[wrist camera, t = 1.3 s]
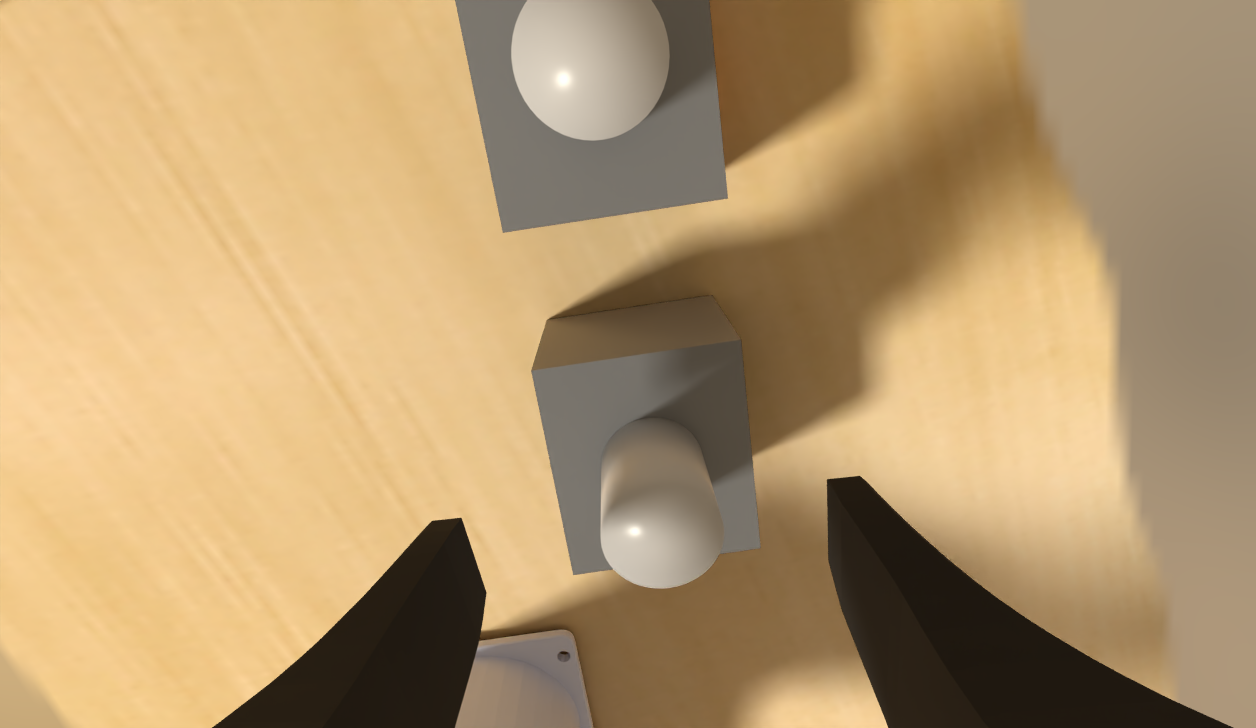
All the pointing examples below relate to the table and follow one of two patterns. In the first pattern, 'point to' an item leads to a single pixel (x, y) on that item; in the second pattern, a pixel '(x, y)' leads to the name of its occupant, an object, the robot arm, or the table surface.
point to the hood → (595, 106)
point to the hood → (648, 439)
